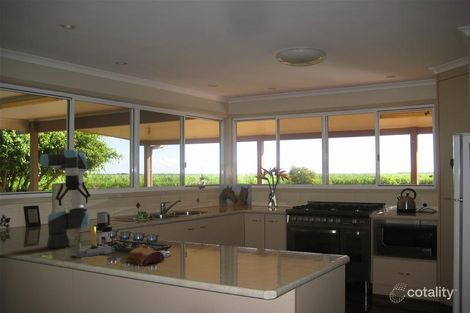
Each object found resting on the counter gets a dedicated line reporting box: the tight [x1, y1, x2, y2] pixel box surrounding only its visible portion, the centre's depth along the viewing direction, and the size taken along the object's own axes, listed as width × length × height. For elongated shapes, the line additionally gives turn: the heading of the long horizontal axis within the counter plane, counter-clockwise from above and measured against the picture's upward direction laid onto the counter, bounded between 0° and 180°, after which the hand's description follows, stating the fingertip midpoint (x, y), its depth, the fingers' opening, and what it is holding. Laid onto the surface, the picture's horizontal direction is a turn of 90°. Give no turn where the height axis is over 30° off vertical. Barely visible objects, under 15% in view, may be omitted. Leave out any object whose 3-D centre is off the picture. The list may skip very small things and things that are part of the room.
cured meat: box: [125, 247, 166, 267], centre depth 242 cm, size 18×25×7 cm
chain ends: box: [72, 245, 116, 259], centre depth 269 cm, size 10×22×4 cm, turn 121°
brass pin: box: [89, 226, 98, 249], centre depth 270 cm, size 3×3×16 cm
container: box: [98, 225, 117, 245], centre depth 296 cm, size 8×8×13 cm
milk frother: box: [92, 211, 111, 231], centre depth 386 cm, size 14×16×15 cm
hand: (73, 210), depth 275 cm, fingers open, 13 cm apart
